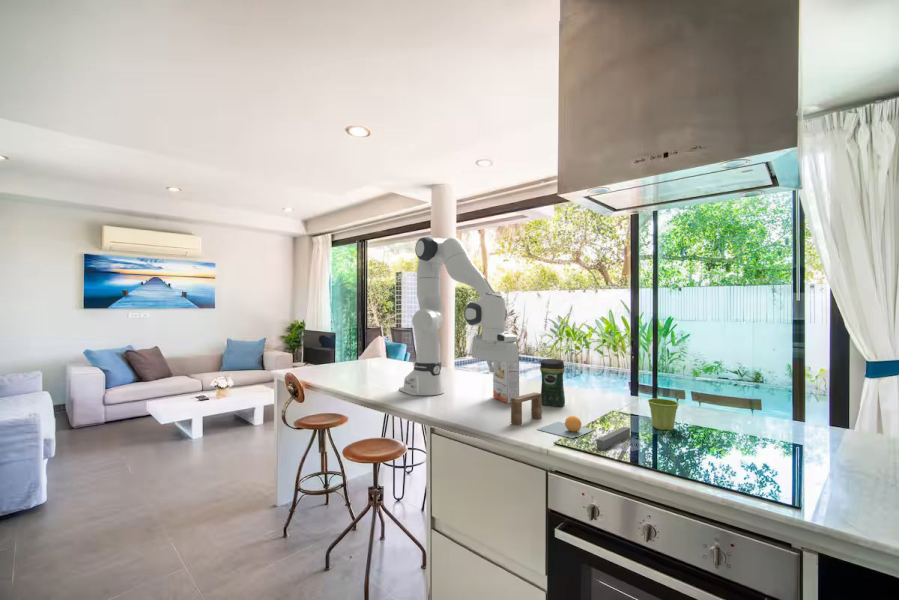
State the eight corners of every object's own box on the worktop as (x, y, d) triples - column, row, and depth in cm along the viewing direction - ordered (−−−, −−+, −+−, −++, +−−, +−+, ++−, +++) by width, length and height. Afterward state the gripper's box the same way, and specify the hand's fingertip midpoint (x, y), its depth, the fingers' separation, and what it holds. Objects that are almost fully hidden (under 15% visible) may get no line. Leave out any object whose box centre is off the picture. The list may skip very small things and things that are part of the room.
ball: (561, 416, 131) (575, 418, 128) (569, 413, 135) (583, 415, 131) (562, 432, 131) (577, 434, 127) (570, 429, 134) (584, 431, 131)
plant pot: (684, 428, 135) (684, 402, 135) (671, 434, 129) (671, 406, 129) (655, 422, 142) (655, 397, 143) (642, 427, 137) (642, 401, 137)
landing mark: (536, 429, 133) (536, 429, 133) (558, 422, 142) (558, 421, 142) (573, 439, 124) (573, 438, 124) (593, 430, 133) (593, 429, 133)
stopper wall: (596, 448, 116) (596, 439, 116) (623, 434, 128) (623, 426, 128) (603, 449, 114) (603, 440, 114) (630, 436, 127) (630, 427, 127)
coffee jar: (566, 403, 169) (566, 358, 170) (562, 408, 162) (562, 360, 163) (543, 401, 174) (543, 357, 174) (538, 405, 167) (538, 359, 167)
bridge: (511, 423, 140) (511, 398, 140) (534, 416, 149) (534, 392, 150) (518, 425, 138) (518, 399, 138) (541, 417, 147) (541, 393, 147)
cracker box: (492, 397, 181) (492, 349, 181) (504, 396, 183) (504, 349, 183) (506, 404, 168) (506, 353, 168) (519, 403, 170) (519, 352, 170)
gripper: (467, 334, 160) (467, 370, 160) (510, 337, 145) (510, 376, 145) (478, 333, 164) (478, 368, 164) (520, 336, 150) (520, 374, 149)
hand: (493, 372), depth 154 cm, fingers closed
